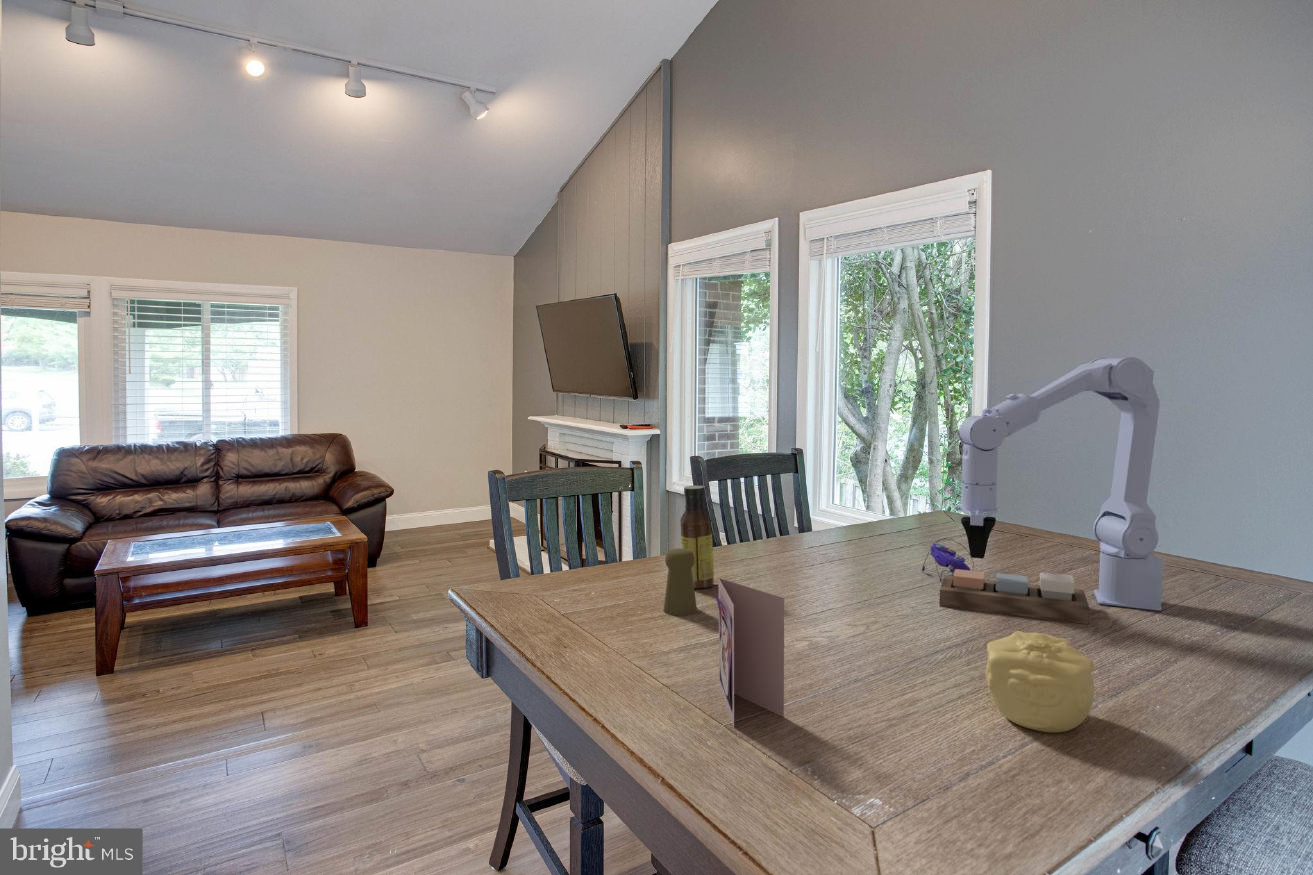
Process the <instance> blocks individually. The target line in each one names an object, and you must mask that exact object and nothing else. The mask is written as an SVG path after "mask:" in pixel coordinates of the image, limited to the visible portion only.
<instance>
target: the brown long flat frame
mask: <svg viewBox="0 0 1313 875" xmlns="http://www.w3.org/2000/svg"><path fill="white" fill-rule="evenodd" d="M941 582H942V583H941V585H940V588H939V600H938V601H939V604H938V605H939V607H944V608H945V607H947V608H953V609H961V610H970V611H976V612H977V611H978V612H984V613H985V612H987V613H994V614H1003V615H1011V616H1018V617H1025V618H1026V617H1027V618H1034V619H1042V620H1050V621H1056V622H1058V621H1059V622H1068V623H1075V624H1081V625H1082V624H1083V625H1089V616H1090V615H1089V613H1090V612H1089V610H1090V609H1089V608H1090V606H1089V603H1088V600H1087V596H1086V593H1085V590H1084V589H1079V588H1078V589H1077V588H1074V594H1072V601H1066V600H1057V599H1048V598H1042V593H1041V589H1040V584H1030V583H1028V592H1027V594H1025V596H1022V595H1013V594H1004V593H997V591H996V580H992V579H985V578H984V587H983V589H982V591H977V590H968V589H959V588H955V586H953V575H944V576H943V579H942V581H941Z"/></svg>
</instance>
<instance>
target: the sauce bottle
mask: <svg viewBox="0 0 1313 875" xmlns="http://www.w3.org/2000/svg"><path fill="white" fill-rule="evenodd" d="M705 492H706V490H705V486H704V485H694V484H693V485H686V486H684V488H683V494H684V499H685V506H684V507H685V509H684V512H683V513H682V516H681V517H680V542H681V543H680V548H683V549H688V550H690V551H692V553H693V554H694V565H693V566H692V568H691V570H692V577H693V584H694V589H696V590H698V589H699V590H700V589H707V588H711V587H712V586H713V585H714V582H715V581H714V580H715V579H714V577H715V567H714V551H713V550H714V548H713V544H714V543H713V532H712V519H711V517H710V516H709V514H708V512H707V509H706V506H705V494H706V493H705Z"/></svg>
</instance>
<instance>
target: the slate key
mask: <svg viewBox="0 0 1313 875" xmlns="http://www.w3.org/2000/svg"><path fill="white" fill-rule="evenodd" d="M995 581H996V591H997V593H1004V594H1013V595H1022V596H1025V594H1027V592H1028V584H1029V583H1028V582H1029V580H1028V576H1027V575H1026V576H1025V575H1020V574H1019V575H1017V574H1008V573H998V572H997V573H996V576H995Z"/></svg>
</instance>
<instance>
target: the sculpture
mask: <svg viewBox="0 0 1313 875" xmlns="http://www.w3.org/2000/svg"><path fill="white" fill-rule="evenodd" d="M986 650H987V662H986V667H985V680H986V684H987V688H988V691H989V694H990V697H991V699H992V701H993V703H994V705H995V706H996V708H997V710H998V711H999V712H1000V713H1001V714H1002V715H1003V716H1004V717H1005V718H1006V719H1008V720H1009V721H1011V722H1013V724H1015V725H1018V726H1021V727H1023V728H1026V729H1029V730H1033V731H1038V732H1044V733H1052V734H1053V733H1064V732H1067V731H1068V732H1069V731H1070V730H1073V729H1075V728H1077V727H1078V726H1080V725H1081V723H1083V722H1084V720H1085V719H1086V718H1087V716H1088V715H1089V714H1090V711H1091V709H1092V706H1093V702H1094V699H1095V683H1094V677H1093V674H1092V673H1093V672H1092V670H1093V669H1094V662H1093V661H1092V660H1091V659H1090V658H1089V657H1088V656H1087V655H1085V654H1083V653H1082V652H1080V651H1079V650H1077V649H1076V648H1075V647H1074V646H1073V645H1072V644H1071V643H1070V642H1069V641H1068V639H1066V638H1063V637H1062V638H1060V637H1056V636H1053V635H1051V634H1047V633H1041V632H1024V631H1021V630H1016V631H1014V632H1013V633H1011V634H1010V635H1008V636H1004V637H1002V638H998V639H995V640H992V641H990V642H988V643H987V646H986Z"/></svg>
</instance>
